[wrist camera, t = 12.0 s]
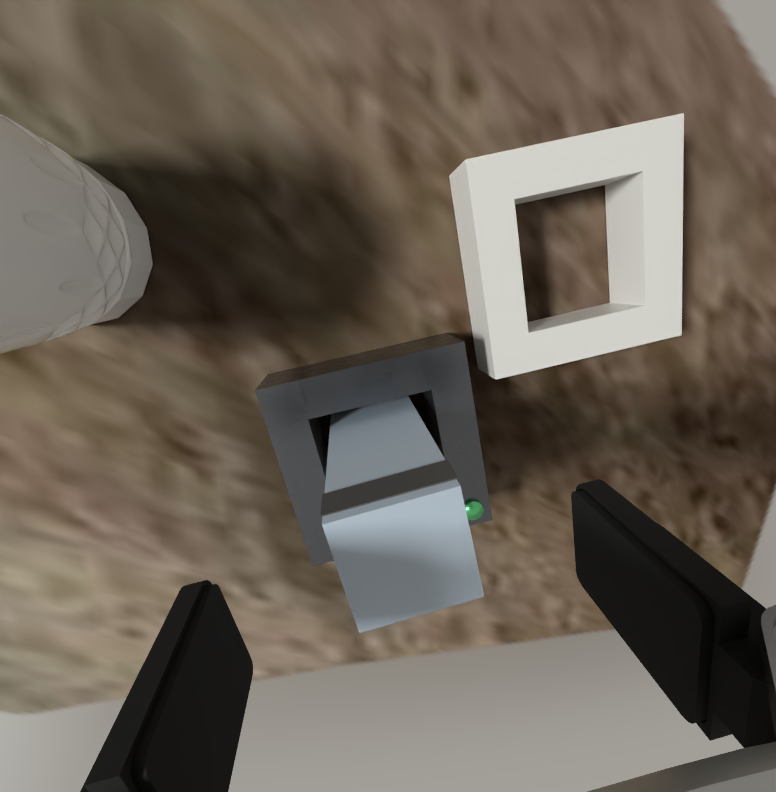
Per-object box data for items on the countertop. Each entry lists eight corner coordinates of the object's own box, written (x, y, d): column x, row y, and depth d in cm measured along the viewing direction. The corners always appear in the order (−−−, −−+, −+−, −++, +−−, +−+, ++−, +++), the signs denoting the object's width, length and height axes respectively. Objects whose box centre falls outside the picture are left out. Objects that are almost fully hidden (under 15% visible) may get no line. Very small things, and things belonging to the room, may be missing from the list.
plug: (329, 410, 20) (319, 523, 11) (406, 390, 21) (462, 483, 11) (351, 479, 22) (358, 634, 12) (422, 459, 22) (485, 597, 12)
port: (267, 374, 20) (253, 391, 16) (446, 332, 20) (465, 341, 17) (316, 529, 22) (312, 568, 19) (473, 489, 23) (493, 522, 20)
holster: (449, 175, 18) (465, 159, 16) (639, 135, 18) (683, 113, 16) (477, 368, 21) (495, 379, 18) (643, 329, 21) (681, 335, 19)
